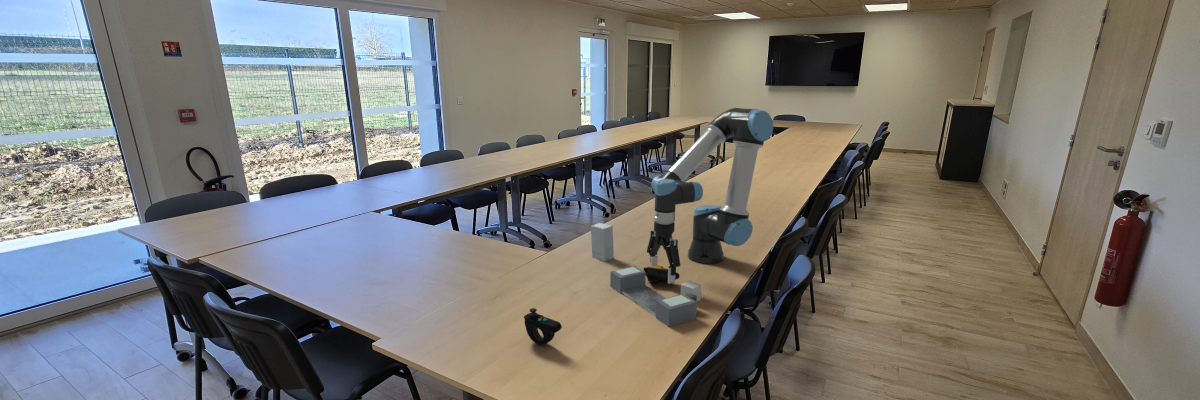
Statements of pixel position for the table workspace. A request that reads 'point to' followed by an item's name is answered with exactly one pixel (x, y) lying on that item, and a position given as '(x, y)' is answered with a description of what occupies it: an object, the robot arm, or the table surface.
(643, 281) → the block
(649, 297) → the rail
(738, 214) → the robot arm
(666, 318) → the block
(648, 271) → the gadget
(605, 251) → the skincare box
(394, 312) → the table surface
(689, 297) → the dark grey pebble
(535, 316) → the controller
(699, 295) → the block
